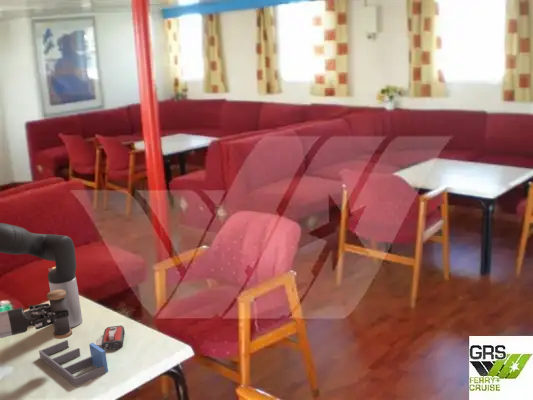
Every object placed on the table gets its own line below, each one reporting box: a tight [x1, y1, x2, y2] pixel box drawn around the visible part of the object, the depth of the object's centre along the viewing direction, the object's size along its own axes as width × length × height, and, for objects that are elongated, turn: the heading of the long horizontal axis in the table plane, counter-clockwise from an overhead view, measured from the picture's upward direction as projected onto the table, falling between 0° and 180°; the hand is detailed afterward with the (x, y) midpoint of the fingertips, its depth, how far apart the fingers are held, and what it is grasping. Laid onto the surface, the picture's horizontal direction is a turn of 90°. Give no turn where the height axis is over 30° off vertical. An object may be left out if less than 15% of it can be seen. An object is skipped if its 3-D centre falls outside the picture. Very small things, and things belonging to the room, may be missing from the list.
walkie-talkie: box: [95, 325, 125, 351], centre depth 208 cm, size 9×4×20 cm
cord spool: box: [46, 290, 73, 340], centre depth 195 cm, size 6×6×14 cm
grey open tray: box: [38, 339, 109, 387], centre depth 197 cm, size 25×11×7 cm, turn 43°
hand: (66, 309), depth 196 cm, fingers closed on cord spool, 4 cm apart
